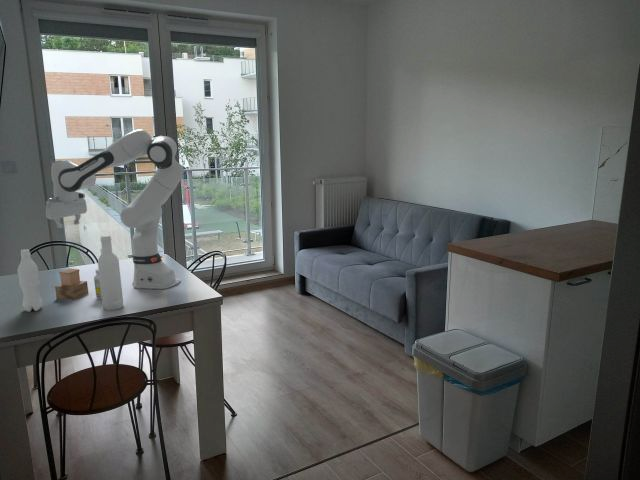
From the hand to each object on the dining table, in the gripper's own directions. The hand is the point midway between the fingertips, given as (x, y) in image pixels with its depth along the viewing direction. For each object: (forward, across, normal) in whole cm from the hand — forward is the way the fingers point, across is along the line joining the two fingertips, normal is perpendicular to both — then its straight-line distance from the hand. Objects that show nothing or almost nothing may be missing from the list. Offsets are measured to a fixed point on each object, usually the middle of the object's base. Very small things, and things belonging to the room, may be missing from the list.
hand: (68, 226), depth 220 cm
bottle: (+29, -19, -38) cm, 52 cm away
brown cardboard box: (+23, -12, -10) cm, 28 cm away
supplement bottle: (+29, -9, -25) cm, 40 cm away
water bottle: (+29, -30, -8) cm, 43 cm away
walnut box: (+29, -12, -10) cm, 33 cm away
